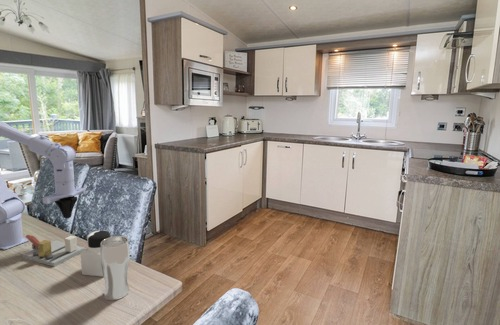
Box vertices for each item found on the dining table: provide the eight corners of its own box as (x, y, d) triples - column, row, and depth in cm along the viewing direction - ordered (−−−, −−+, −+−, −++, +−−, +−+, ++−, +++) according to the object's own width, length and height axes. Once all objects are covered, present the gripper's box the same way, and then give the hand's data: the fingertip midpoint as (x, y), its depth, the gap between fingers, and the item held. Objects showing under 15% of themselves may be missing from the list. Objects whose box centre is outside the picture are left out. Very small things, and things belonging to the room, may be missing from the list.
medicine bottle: (118, 264, 87) (116, 229, 85) (104, 277, 80) (102, 239, 78) (97, 262, 88) (95, 227, 86) (81, 275, 81) (78, 237, 79)
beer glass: (136, 288, 76) (135, 238, 73) (116, 304, 69) (114, 249, 67) (116, 282, 78) (114, 233, 75) (96, 297, 71) (93, 244, 69)
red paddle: (36, 248, 92) (24, 237, 88) (39, 245, 93) (27, 234, 89) (44, 250, 91) (31, 239, 87) (47, 247, 92) (35, 235, 88)
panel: (20, 257, 89) (19, 249, 88) (53, 242, 99) (53, 235, 99) (54, 266, 84) (53, 258, 84) (85, 250, 95) (84, 243, 94)
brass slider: (38, 255, 87) (37, 243, 86) (46, 252, 89) (45, 239, 89) (44, 257, 86) (43, 244, 86) (51, 253, 89) (50, 241, 88)
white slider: (65, 250, 91) (64, 238, 90) (72, 247, 93) (71, 235, 93) (70, 252, 90) (69, 239, 90) (77, 248, 93) (76, 236, 92)
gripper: (52, 186, 88) (55, 226, 90) (91, 177, 101) (93, 212, 104) (36, 184, 90) (40, 223, 92) (76, 175, 103) (78, 209, 106)
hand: (67, 217), depth 98 cm, fingers closed
